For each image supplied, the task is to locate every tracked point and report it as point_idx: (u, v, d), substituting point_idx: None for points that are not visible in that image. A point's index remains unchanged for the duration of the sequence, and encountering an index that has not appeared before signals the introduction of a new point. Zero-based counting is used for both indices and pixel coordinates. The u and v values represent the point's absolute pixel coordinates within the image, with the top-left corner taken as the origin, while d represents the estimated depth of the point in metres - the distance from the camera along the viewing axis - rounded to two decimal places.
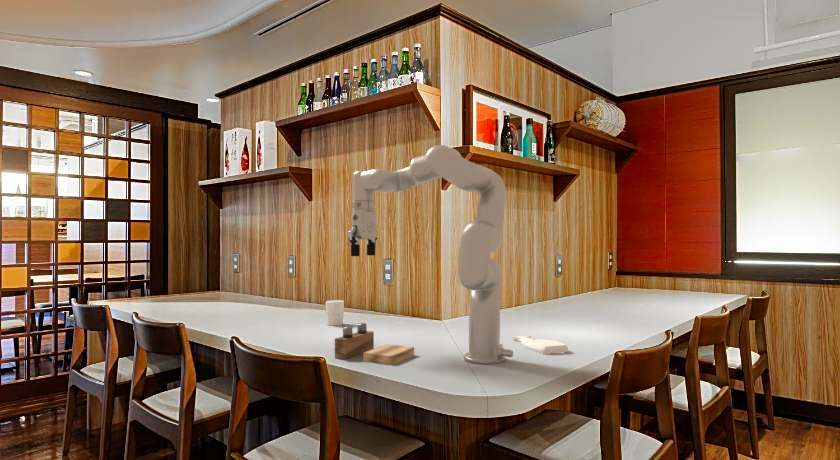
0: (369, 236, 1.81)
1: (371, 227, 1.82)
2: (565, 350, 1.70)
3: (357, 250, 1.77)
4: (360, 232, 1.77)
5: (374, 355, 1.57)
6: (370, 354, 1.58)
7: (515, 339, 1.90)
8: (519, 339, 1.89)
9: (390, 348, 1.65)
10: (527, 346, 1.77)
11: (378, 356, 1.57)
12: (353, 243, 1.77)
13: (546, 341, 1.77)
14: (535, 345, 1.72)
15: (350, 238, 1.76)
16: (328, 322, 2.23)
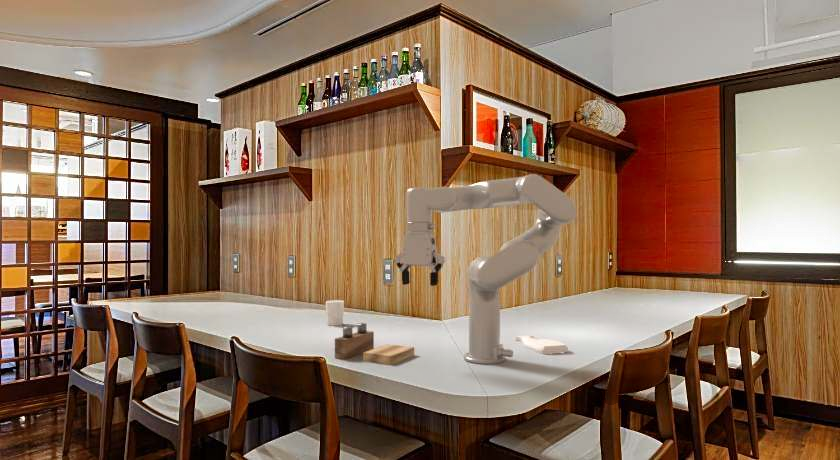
0: None
1: None
2: (565, 350, 1.70)
3: None
4: (437, 258, 1.58)
5: (374, 355, 1.58)
6: (370, 354, 1.58)
7: (517, 339, 1.90)
8: (521, 339, 1.89)
9: (390, 348, 1.65)
10: (527, 346, 1.77)
11: (378, 356, 1.57)
12: (437, 270, 1.56)
13: (546, 341, 1.78)
14: (535, 345, 1.73)
15: (442, 265, 1.55)
16: (328, 322, 2.23)
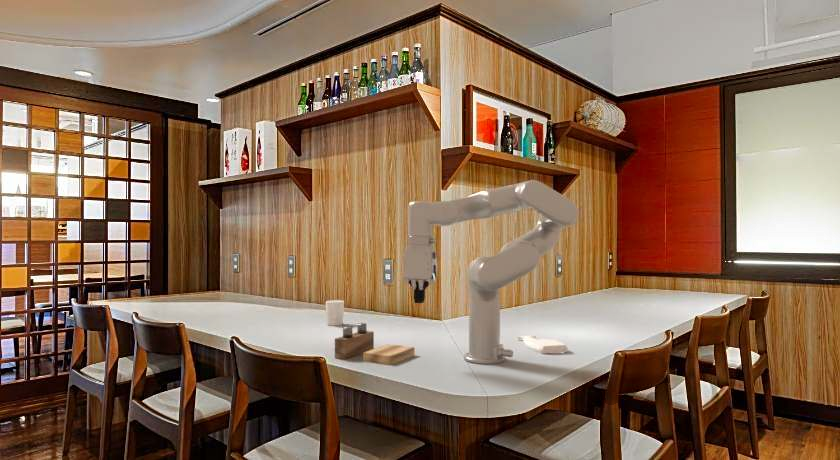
0: None
1: None
2: (564, 350, 1.70)
3: None
4: (437, 272, 1.58)
5: (373, 355, 1.58)
6: (370, 354, 1.58)
7: (519, 339, 1.91)
8: (523, 339, 1.90)
9: (390, 348, 1.65)
10: (527, 346, 1.78)
11: (377, 356, 1.57)
12: (423, 289, 1.58)
13: (547, 341, 1.78)
14: (534, 345, 1.73)
15: None
16: (328, 322, 2.23)
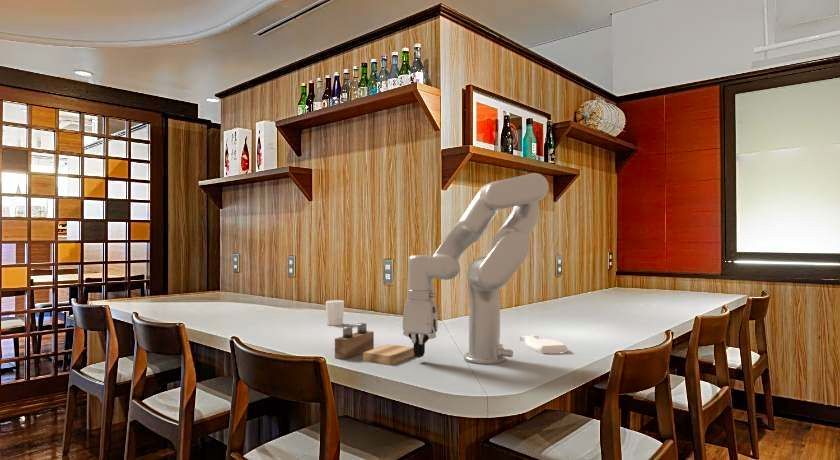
0: None
1: None
2: (564, 350, 1.70)
3: None
4: (437, 326, 1.58)
5: (373, 355, 1.58)
6: (369, 354, 1.58)
7: (521, 338, 1.91)
8: (525, 338, 1.90)
9: (390, 348, 1.65)
10: (528, 345, 1.78)
11: (377, 356, 1.57)
12: None
13: (547, 341, 1.78)
14: (534, 344, 1.73)
15: None
16: (328, 322, 2.23)
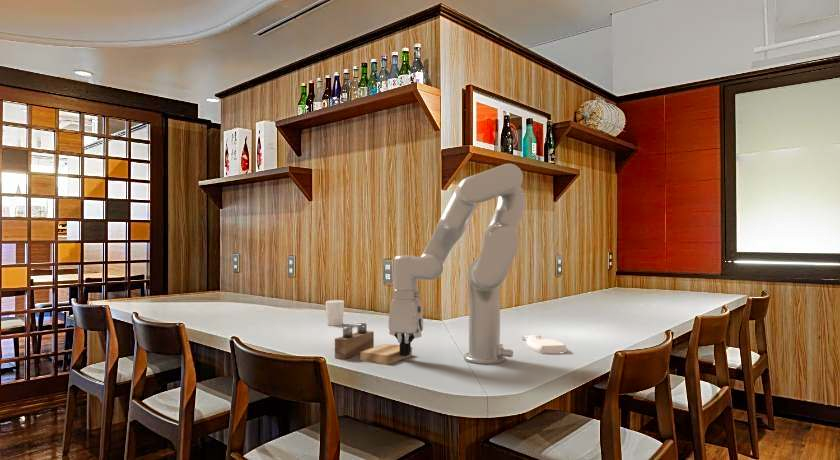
0: None
1: None
2: (563, 350, 1.70)
3: None
4: (422, 325, 1.60)
5: (371, 354, 1.58)
6: (367, 353, 1.59)
7: (523, 338, 1.92)
8: (527, 338, 1.90)
9: (388, 347, 1.66)
10: (528, 345, 1.78)
11: (375, 355, 1.57)
12: None
13: (548, 341, 1.78)
14: (534, 344, 1.74)
15: None
16: (328, 322, 2.23)
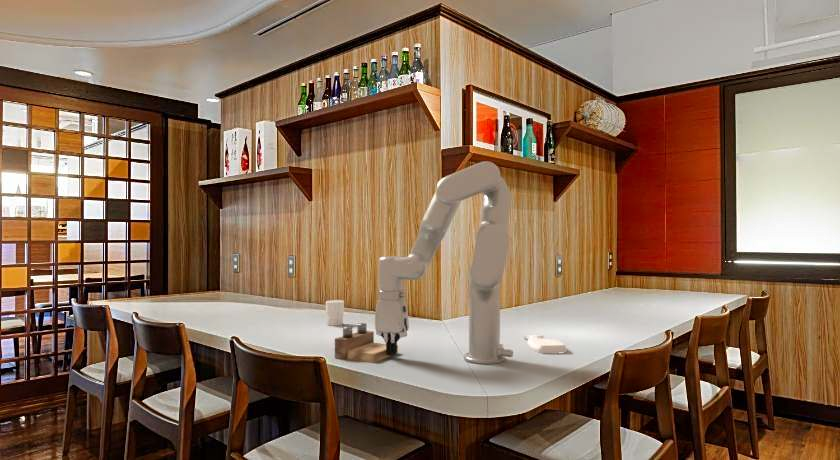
0: None
1: None
2: (563, 350, 1.70)
3: None
4: (408, 324, 1.63)
5: (357, 353, 1.60)
6: (354, 352, 1.61)
7: (525, 338, 1.92)
8: (529, 338, 1.90)
9: (374, 346, 1.68)
10: (529, 345, 1.79)
11: (361, 354, 1.60)
12: None
13: (548, 341, 1.78)
14: (534, 344, 1.74)
15: None
16: (328, 322, 2.23)
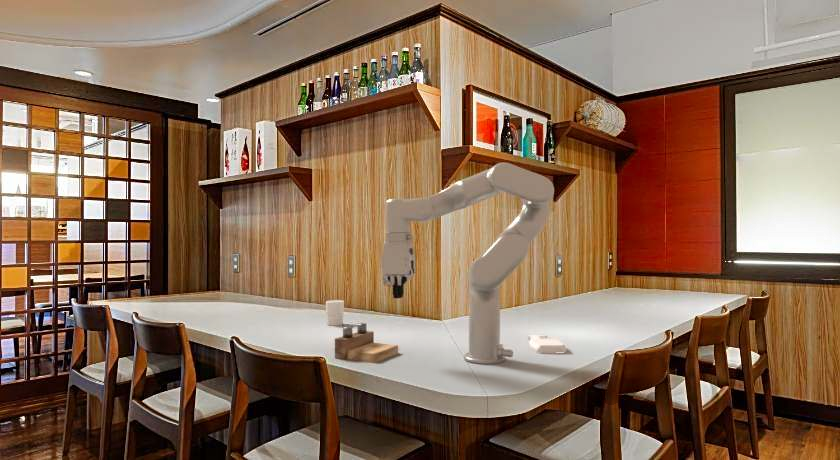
0: None
1: None
2: (562, 350, 1.70)
3: None
4: (415, 267, 1.62)
5: (358, 353, 1.60)
6: (354, 352, 1.61)
7: (529, 338, 1.92)
8: (532, 338, 1.91)
9: (374, 346, 1.68)
10: (529, 344, 1.79)
11: (362, 354, 1.60)
12: (402, 285, 1.62)
13: (549, 341, 1.78)
14: (533, 344, 1.75)
15: None
16: (328, 322, 2.23)
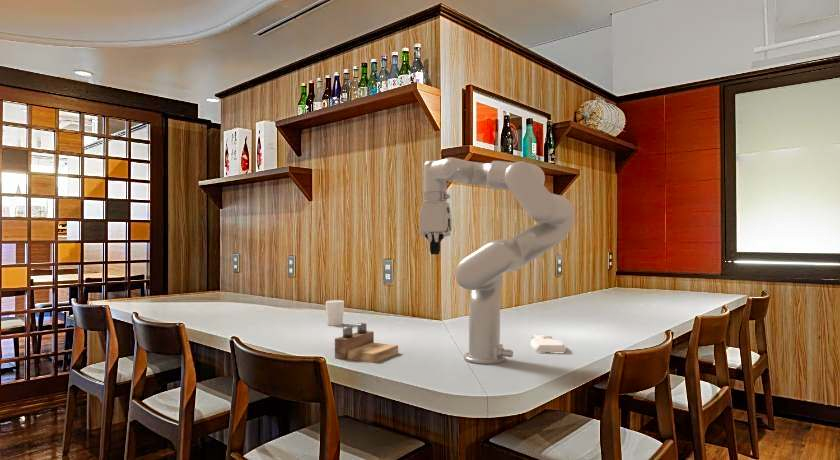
0: None
1: None
2: (561, 350, 1.70)
3: None
4: (451, 225, 1.71)
5: (358, 353, 1.60)
6: (354, 352, 1.61)
7: (533, 338, 1.93)
8: (536, 338, 1.91)
9: (374, 346, 1.68)
10: None
11: (362, 354, 1.60)
12: (439, 242, 1.71)
13: (550, 341, 1.78)
14: (533, 343, 1.75)
15: None
16: (328, 322, 2.23)
